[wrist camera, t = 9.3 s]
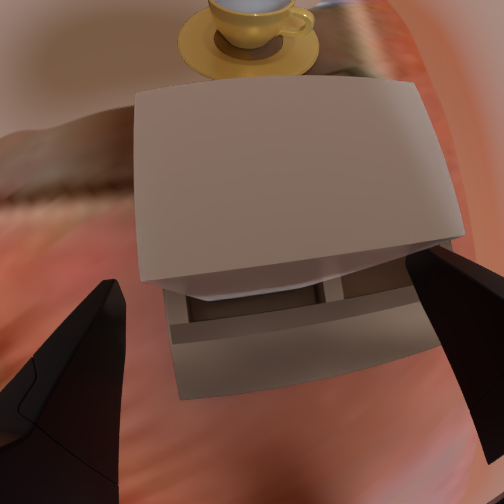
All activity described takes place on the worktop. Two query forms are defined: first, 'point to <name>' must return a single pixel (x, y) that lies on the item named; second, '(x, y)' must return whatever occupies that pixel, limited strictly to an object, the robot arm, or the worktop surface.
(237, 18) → the cup
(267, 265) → the clay block
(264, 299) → the rack
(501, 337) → the robot arm
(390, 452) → the worktop surface
